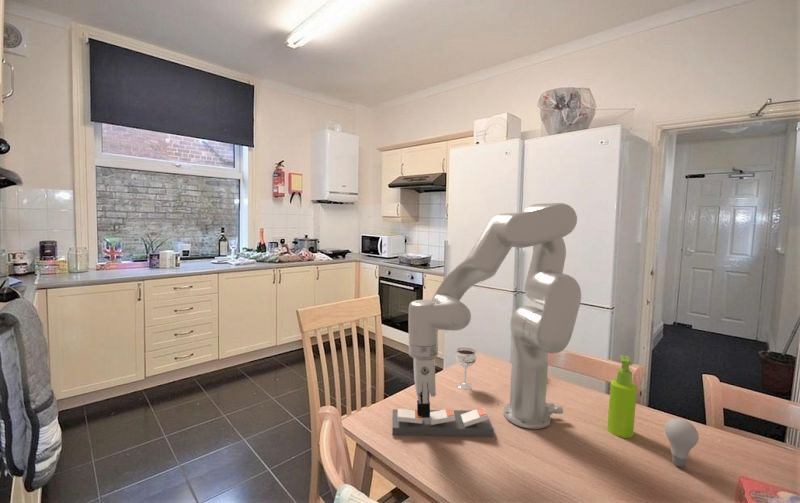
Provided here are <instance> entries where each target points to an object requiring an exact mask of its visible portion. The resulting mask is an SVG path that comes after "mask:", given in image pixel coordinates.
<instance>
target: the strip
mask: <svg viewBox="0 0 800 503" xmlns="http://www.w3.org/2000/svg"><path fill="white" fill-rule="evenodd" d="M398 409H399V408H397V409H395V408H394V409H393V408H392V426H391V427H392V428H391V434H392V436H424V437H425V436H428V437H429V436H431V437H436V436H437V437H440V436H441V437H494V427H493V425H492V423H491V420H490V419H489V416H488V415H487V417H488V419H487V420H484V421H481V422H478V423H475V424H472V425H470V426H467V427H465V426H464V423H463V420H462V417H461V414H464V413H467V412H470V411H471V410H464V409H463V410H462V409H461V410H459V409H458V410H457V409H456V410H454V409H453V412H454V415H455V421H450V422H445V423H440V424H434V425H431V421H430V417H429V418H423V421H422V424H421V423H411V422H402V421H397V412H398ZM440 410H441V409H430V412H434V411H440Z"/></svg>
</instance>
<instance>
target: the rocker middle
mask: <svg viewBox="0 0 800 503" xmlns="http://www.w3.org/2000/svg"><path fill="white" fill-rule="evenodd" d="M439 410H440V411H434V412H430V421H431V425H434V424H440V423H445V422H450V421H455V415H454V412H453V410H454V409H453V407H449V408H446V409H439Z"/></svg>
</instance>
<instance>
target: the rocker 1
mask: <svg viewBox="0 0 800 503" xmlns="http://www.w3.org/2000/svg"><path fill="white" fill-rule="evenodd" d="M397 409H398V412H397V421H402V422H411V423H421V424H422V421H423V418H422V416H418V413H417V409H405V408H397Z"/></svg>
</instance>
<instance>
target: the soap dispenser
mask: <svg viewBox="0 0 800 503" xmlns="http://www.w3.org/2000/svg"><path fill="white" fill-rule="evenodd" d="M619 358H620V360H621V368H618V369H616V370H617V371H616V379H611V381H610V387H609V388H610V390H609V403H608V416H607V431H608V432H610V433H611V434H612V435H614V436H615V437H618V438H623V439H624V438H625V439H629V438H633V436H634V427H635V426H634V425H635V415H636V402H637V391H638V387H637V385H636V384H635V383H633V382H632V380H633V372H632V371H630V365H631V359H630V357H629V356H628V355H623V354H619Z"/></svg>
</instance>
